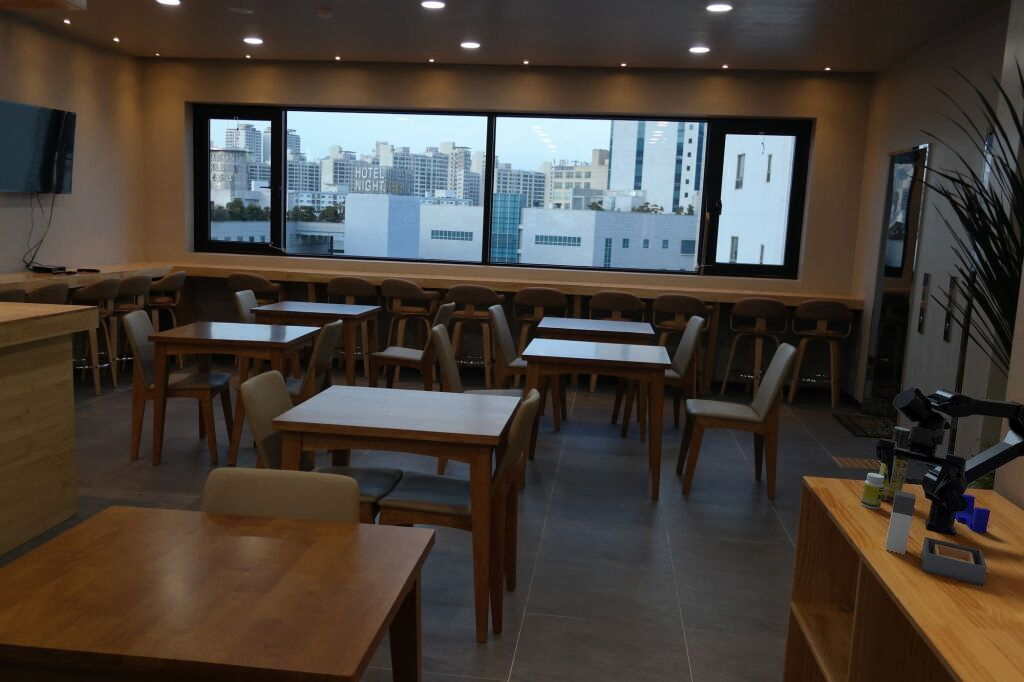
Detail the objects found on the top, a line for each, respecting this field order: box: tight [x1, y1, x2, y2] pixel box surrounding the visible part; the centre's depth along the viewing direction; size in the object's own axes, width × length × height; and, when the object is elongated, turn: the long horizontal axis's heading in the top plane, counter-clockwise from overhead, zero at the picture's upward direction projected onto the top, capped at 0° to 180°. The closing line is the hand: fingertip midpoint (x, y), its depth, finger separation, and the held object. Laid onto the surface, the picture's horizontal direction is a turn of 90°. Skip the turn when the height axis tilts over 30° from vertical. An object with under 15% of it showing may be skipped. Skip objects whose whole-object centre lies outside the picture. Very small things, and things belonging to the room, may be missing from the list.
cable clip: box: [955, 493, 991, 534], centre depth 207 cm, size 12×4×6 cm, turn 169°
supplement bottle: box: [860, 472, 884, 510], centre depth 212 cm, size 5×5×8 cm
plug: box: [885, 490, 916, 555], centre depth 183 cm, size 4×4×13 cm
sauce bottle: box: [878, 426, 911, 503], centre depth 219 cm, size 6×6×20 cm
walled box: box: [921, 536, 988, 587], centre depth 175 cm, size 11×11×4 cm
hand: (910, 488), depth 187 cm, fingers open, 9 cm apart
